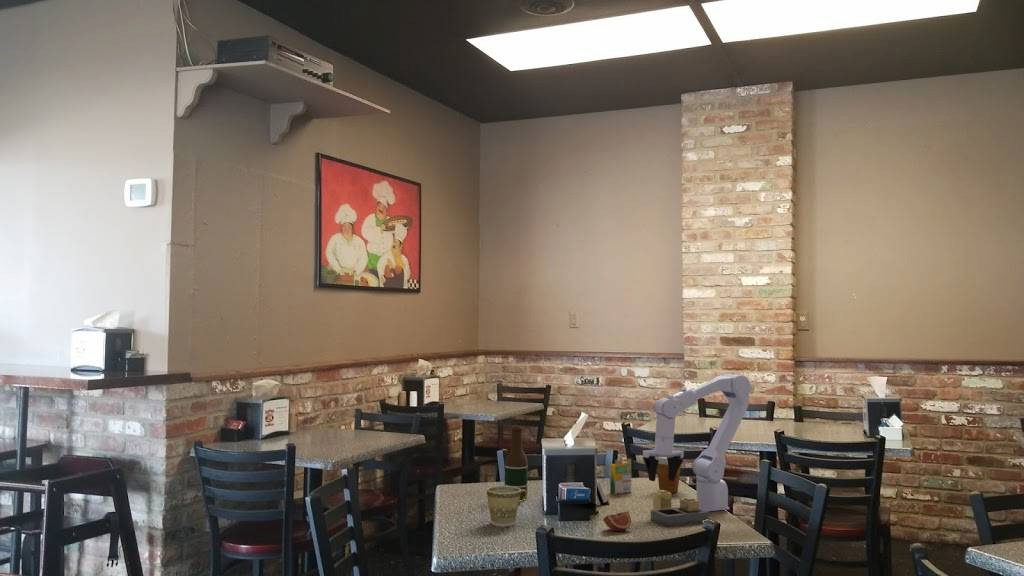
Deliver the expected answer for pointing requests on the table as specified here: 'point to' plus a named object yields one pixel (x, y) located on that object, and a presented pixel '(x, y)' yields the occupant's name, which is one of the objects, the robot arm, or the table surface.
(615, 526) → the fruit slice
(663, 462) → the disposable coffee cup
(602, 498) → the hinge
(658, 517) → the tray
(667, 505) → the beige small block
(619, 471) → the crayon box
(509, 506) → the ceramic cup
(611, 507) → the table surface
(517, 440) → the beer bottle
